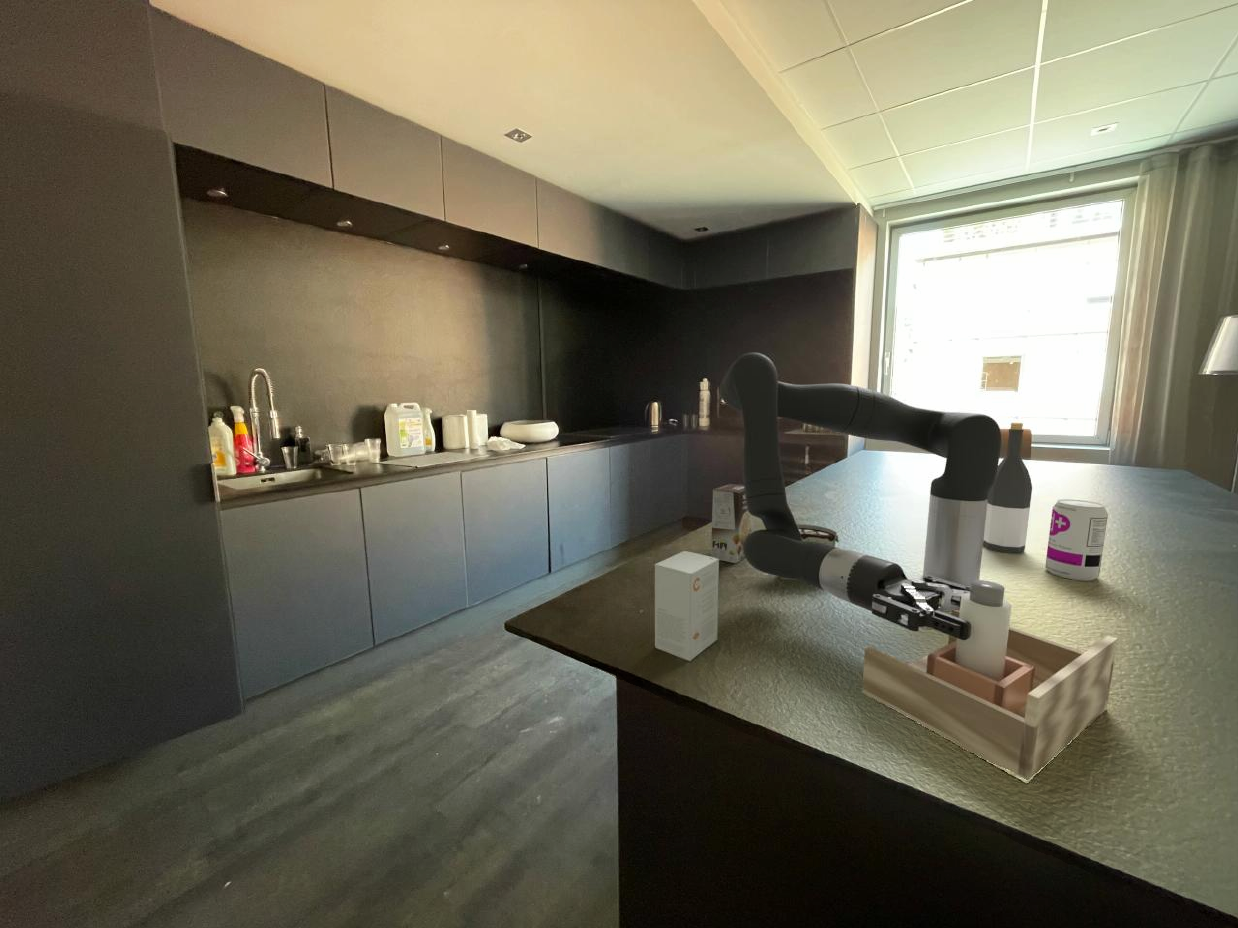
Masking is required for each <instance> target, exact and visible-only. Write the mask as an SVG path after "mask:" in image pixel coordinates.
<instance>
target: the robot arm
mask: <svg viewBox="0 0 1238 928" xmlns="http://www.w3.org/2000/svg"><path fill="white" fill-rule="evenodd" d="M777 371H778V370H777V368H776V366H775V364H774V362H773V361H772V360H771V359H770V358H769V357H768V356H767V355H765V354H763V353H760V352H746V353H744V354H742V355H741V356H739V357H738V358H736V360H734V362H733V363H732V364H731V366H730V367H729V368H728V371H727V372H726V374H725V375H724V377H723V378H722V380H721V382H720V386H719V395H720V398H721V399H722V401H723V403H724V404H725V405H727V406H728V407H729V408H731V409H732V410H734V411H737V412H740V413H742V422H743V433H744V435H743V450H742V451H743V452H742V479H743V480H742V481H743V485H744V489H745V496H746V503H747V508H748V511H749V513H750V514H751V515H753V517H756V518H758V519H760V520H761V522H762V523H763V526H764V527H765V528H764V529H757V530H755V531H752V533H751V534H750V535H748V537H747V538H746V540H745V542H744V545H743V551H744V555H745V558H744V559H745V560H746V561H747V562H748V563H749V564H750V566H752V567H753V568H754V569H755V570H757V571H760V572H762V573H765V574H768V575H773V576H776V577H779V578H780V577H784V578H789V579H794V581H799V582H802V583H805V584H807V585H809V586H811V587H813V588H815V589H816V588H817V589H819V590H822V591H824V592H827V593H829V594H830V595H832V596H834V597H836V598H837V599H840V600H842V601H844V602H847V603H850V604H853V605H855V606H857V607H860V608H862V609H865V610H868V611H870V612H871V614H872V615H875V616H877V617H879V618H881V619H884V620H885V621H887V622H890V623H892V624H895V625H897V626H898V627H899V626H900V627H902V628H905V629H906V630H909V631H912V632H919V629H920V628H922V629H923V630H928V631H931V630H932V629H933V630H935V631H938V632H940V633H943V634H946V635H948V636H949V635H950V636H953V637H956V638H958V639H961V640H967V639H969V638H970V634H971V624H970V622H968V621H966V620H963V619H961V618H958V617H955V616H952V615H951V614H949V613H950V612H951V610H959V611H960V605H961V596H962V595H963V594H966V593H970V587H971V581H973V580H980V577H981V576H980V575H981V569H982V568H981V567H982V559H983V549H984V546H983V541H984V531H985V522H986V512H987V502H988V494H989V491H990V489H991V487H992V486H993V484H994V482H995V479H996V474H997V468H998V465H999V461H1000V455H1001V448H1002V432H1001V427H1000V426H999V424H998V422H997V421H996V420H995V419H994V418H992V417H991V416H989V415H986V414H982V413H976V412H975V413H972V412H959V411H958V412H956V411H942V410H941V411H939V410H933V409H926V408H920V407H915V406H912V405H909V404H905V403H904V402H902V401H900V400H898V399H896V398H895V397H892V396H889V395H888V394H885V393H882V392H879V391H876V390H873V389H869V388H864V387H861V386H857V385H853V384H849V383H848V384H847V383H846V384H845V383H818V384H817V383H815V384H812V383H811V384H795V383H787V382H782V381H779V380H778V377H779V376H778V372H777ZM778 418H780V419H785V420H790V421H794V422H798V423H801V424H806V425H809V426H814V427H817V428H823V429H826V430H830V431H833V432H837V433H841V434H844V435H848V436H852V437H857V438H863V439H868V440H875V441H876V440H877V441H887V442H897V443H902V444H904V445H909V446H912V447H915V448H917V449H920V450H922V451H924V452H925V451H926V452H928V453H930V454H932V455H933V454H934V455H936V456H939V457H941V458H944V459H946V461H945V466H944V471H943V473H942V474H941V475H940V476H939V477H937V478H934V479H932V481H931V483H930V492H929V494H930V495H929V502H928V513H927V514H928V516H927V525H926V526H927V528H926V536H925V537H926V538H925V547H924V548H925V549H924V558H923V559H924V560H923V568H922V569H923V570H922V577H923V580H922V579H908V578H907V576H906V574H905V572H904V570H903V568H902V567H901V566H900V565H899V564H898V563H896V562H893V561H889V560H885V559H882V558H879V557H876V556H872V555H869V554H865V553H862V552H859V551H855V550H851V549H844V548H840V547H839V548H838V547H836V546H835V547H833V546H830V545H826V544H823V543H819V542H813V541H802V538H801V534H800V532H799V529H798V527H797V524H798V523H797V522H796V520H795V517H794V515H793V512H792V509H791V508H790V507H789V503H788V500H787V494H786V493H787V492H786V485H785V479H784V473H783V466H782V460H781V452H780V451H781V450H780V440H779V423H778ZM789 579H788V580H789ZM940 599H941V601H940ZM903 616H905V618H907V619H904V618H903Z"/></svg>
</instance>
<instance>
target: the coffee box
mask: <svg viewBox="0 0 1238 928" xmlns="http://www.w3.org/2000/svg"><path fill="white" fill-rule="evenodd" d="M711 507H712V508H711V510H712V511H711V514H712V515H711V538H710V539H711V542H710V557H714V558H717V559H719V561H722V562H723V561H724V562H728V563H731V564H737V563H739V562H740V561H742V560H743V559H746V558H745V555H744V551H743V545H744V542H745V540H746V538H747V537H748V535H750V534H751V533H752V532H753V520H754V516H753V515H751V514H750V513H749V511H748V508H747V503H746V496H745V489H744V484H734V483H728V484H726V485H725V484H724V485H722V486H719V487H716V488H713V489H712V506H711Z"/></svg>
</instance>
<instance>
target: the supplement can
mask: <svg viewBox="0 0 1238 928" xmlns="http://www.w3.org/2000/svg"><path fill="white" fill-rule="evenodd" d="M1108 517H1109V513H1108V511H1107V509H1106V506H1105V505H1104V504H1102V503H1100V502H1099V503H1098V502H1095V501H1091V500H1090V501H1089V500H1080V499H1069V498H1067V499H1066V498H1063V499H1058V500H1057V502H1056V503H1055V504H1054V505H1053V506H1052V510H1051V519H1050V524H1049V533H1048V542H1047V548H1046V549H1047V550H1046V558H1045V563H1044V568H1045V569H1047V570H1048V572H1049V573H1050V574H1052V575H1054V576H1057V577H1060V578H1064V579H1069V580H1073V581H1083V582H1084V581H1085V582H1089V581H1094V580H1096V579H1097V578H1100V573H1101V567H1102V560H1103V559H1102V558H1103V553H1104V546H1105V539H1106V531H1107V524H1108Z"/></svg>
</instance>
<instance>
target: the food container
mask: <svg viewBox="0 0 1238 928" xmlns="http://www.w3.org/2000/svg"><path fill="white" fill-rule="evenodd" d="M796 524H797V527H798V529H799V532H800V534H801V538H802V541H813V542H819V543H823V544H826V545H830V546H833V547H836V542H837V543H839V542H840V541H839V540H840V539H839V536H838V534H837V533H838V531H835V530H833V529H831V528H828V527H826V526H825V527H824V526H821V525H820V526H819V525H814V524H805V523H804V524H801V523H800V524H798V523H796ZM779 579H780V580H792V581H793V580H794V579H789V578H784V577H780V576H779ZM794 581H795V580H794Z"/></svg>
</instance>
